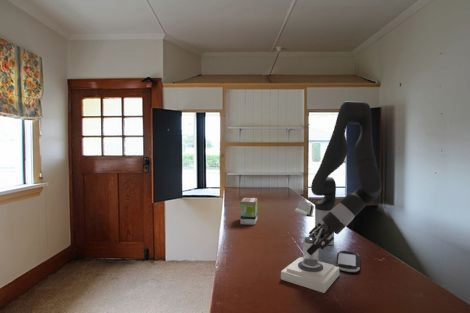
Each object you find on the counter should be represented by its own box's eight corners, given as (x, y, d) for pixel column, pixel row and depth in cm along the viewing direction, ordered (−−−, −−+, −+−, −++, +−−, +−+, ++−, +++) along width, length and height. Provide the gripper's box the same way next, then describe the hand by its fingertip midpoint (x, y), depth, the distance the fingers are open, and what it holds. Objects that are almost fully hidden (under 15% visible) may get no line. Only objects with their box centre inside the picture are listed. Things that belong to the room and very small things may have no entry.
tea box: (255, 225, 172) (255, 201, 172) (240, 224, 174) (239, 201, 173) (257, 218, 187) (257, 197, 187) (243, 218, 189) (242, 197, 188)
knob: (306, 260, 106) (306, 234, 106) (322, 264, 102) (322, 238, 102) (299, 266, 101) (298, 239, 101) (315, 270, 97) (315, 242, 97)
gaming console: (360, 276, 103) (360, 269, 103) (334, 271, 107) (334, 265, 107) (359, 257, 121) (359, 251, 121) (337, 254, 124) (337, 248, 124)
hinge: (294, 211, 209) (298, 198, 210) (299, 212, 210) (303, 200, 211) (306, 216, 193) (310, 202, 194) (311, 218, 194) (315, 204, 195)
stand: (299, 264, 113) (299, 253, 113) (339, 275, 103) (339, 263, 103) (281, 279, 100) (280, 267, 100) (324, 293, 90) (324, 279, 90)
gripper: (325, 206, 108) (295, 236, 109) (337, 215, 93) (302, 249, 94) (339, 220, 108) (309, 249, 108) (353, 231, 93) (318, 264, 94)
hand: (306, 249), depth 101 cm, fingers open, 7 cm apart
